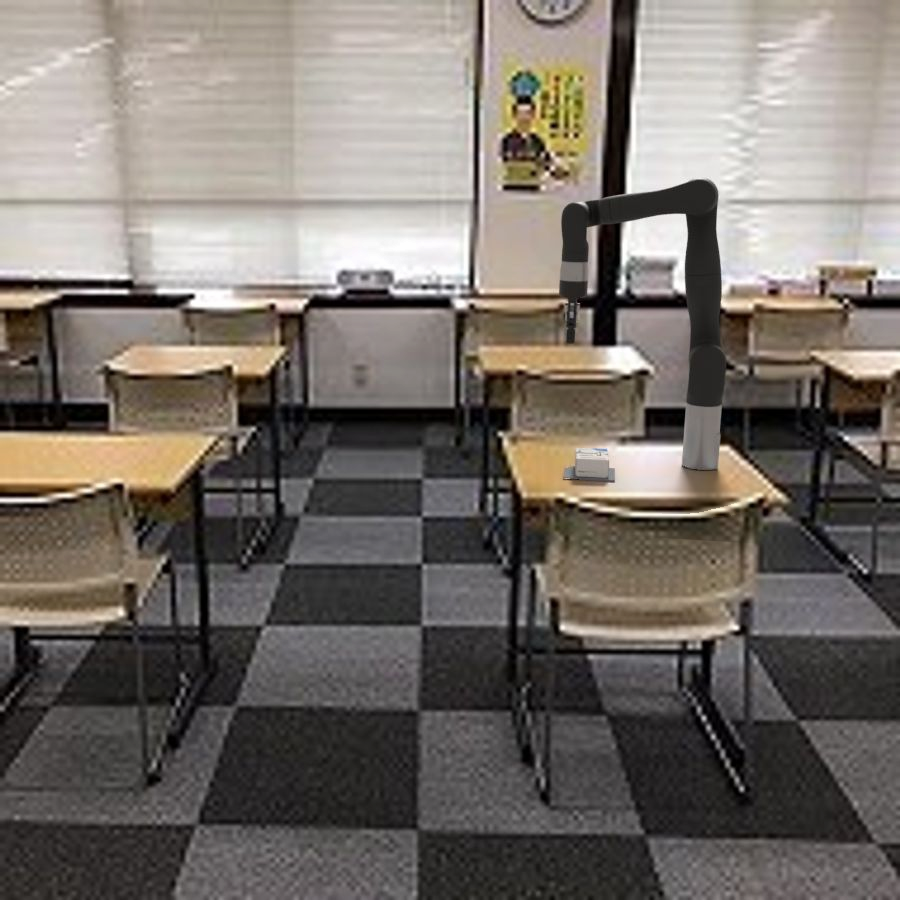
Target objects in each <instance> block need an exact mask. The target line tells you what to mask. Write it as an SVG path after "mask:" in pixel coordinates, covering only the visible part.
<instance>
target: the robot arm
mask: <svg viewBox="0 0 900 900" xmlns="http://www.w3.org/2000/svg"><path fill="white" fill-rule="evenodd" d="M719 194H720V193H719V189H718V187H717V185H716V184H715V182H713V181H712V179H709V178H707V177H695V178H694V177H693V178H692V179H689V180H688V181H686V182H684V183H681V184H677V185H674V186H671V187H668V188H664V189H658V190H652V191H641V192H633V193H623V194H617V195H612V196H606V197H603V198H600V199H591V200H583V201H582V200H581V201H574V202H570V203H568V204H567V205H566V206H565V207H564V208H563V210H562V212H561V219H560V221H561V222H560V224H561V228H560V229H561V237H562V238H561V239H562V249H561V262H560V263H561V264H560V269H559V283H558V284H559V285H558V286H559V288H558V295H559V296H560V297H561V298H567V299H568V300H567V302H565V303H564V311H565V314H564V316H565V317H564V320H565V322H566V325H565V326H566V327H565V328H566V338H565V339H566V341H565V342H566V344H572V345H573V344H575V342H576V340H575V339H576V329H577V324H578V323H577V322H578V321H579V312H580V307H581V303H580V302H579V303H578V299H581V298H583V299H584V298H586V297H587V296H588V284H589V252H590V251H589V250H590V246H589V241H588V240H587V237H588V235H587V234H588V228H590V227H591V228H592V227H596V226H601V225H614V224H619V223H620V224H621V223H627V222H632V221H638V220H642V219H647V218H652V217H658V216H664V215H666V216H667V215H685V219H686V227H687V228H686V229H687V241H686V248H685V257H684V258H685V259H684V286H685V297H686V305H687V311H688V316H689V325H690V332H689V333H690V335H689V336H690V337H689V338H690V340H689V353H688V364H689V368H688V369H689V370H688V381H687V383H688V384H687V392H686V400H685V413H684V414H685V415H684V416H685V417H684V426H683V427H684V429H683V440H682V441H683V444H682V455H681V465H683V466H682V467H684V466H685V467H684V468H686V467H687V469H691V470H695V469H697V471H711V470H719V458H720V448H721V447H720V445H721V431H720V430H721V423H722V422H721V419H722V408H723V397H724V393H725V384H726V382H725V381H726V372H727V357H726V355H725V353H724V351H723V347H722V341H721V334H720V333H721V332H720V323H719V321H720V312H721V307H722V305H721V304H722V293H723V292H722V290H723V288H722V287H723V283H722V278H723V277H722V267H721V256H720V255H721V254H720V248H719V246H720V245H719V241H718V233H717V218H718V207H719V206H718V205H719Z"/></svg>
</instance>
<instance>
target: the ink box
mask: <svg viewBox="0 0 900 900" xmlns="http://www.w3.org/2000/svg"><path fill="white" fill-rule="evenodd" d="M574 454H575V456H574V458H575V460H574V466H575V475H576V476H578V477H597V478H608V477H609V468H610V458H609V453H608V449H607V448H590V447H589V448H588V447H587V448H585V447H583V448H582V447H576V448H575V453H574Z"/></svg>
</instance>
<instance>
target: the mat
mask: <svg viewBox="0 0 900 900" xmlns="http://www.w3.org/2000/svg"><path fill="white" fill-rule="evenodd" d="M569 466H570V467H568V468H565V467H564V473H563V477H562V478H570V479H579V480H578V481H585V480H588V481H589V482H604V481H607V483H608V482H609V483H616V472H615V471H616V468H615V467H609V477H608V478H597V477H578V476H576V475H575V465H569ZM588 481H587V482H588Z"/></svg>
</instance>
